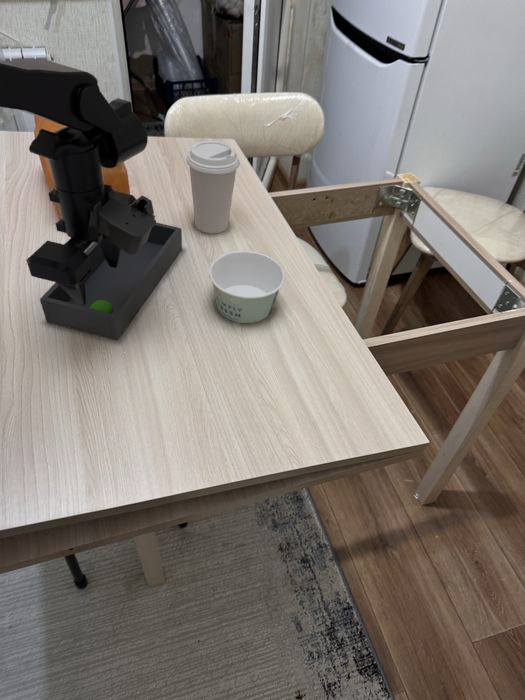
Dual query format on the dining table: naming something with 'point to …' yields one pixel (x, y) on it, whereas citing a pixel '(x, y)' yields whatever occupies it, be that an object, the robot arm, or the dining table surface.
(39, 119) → the bread
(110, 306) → the pea
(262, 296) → the food container
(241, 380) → the dining table surface
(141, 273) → the tray
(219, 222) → the coffee cup
